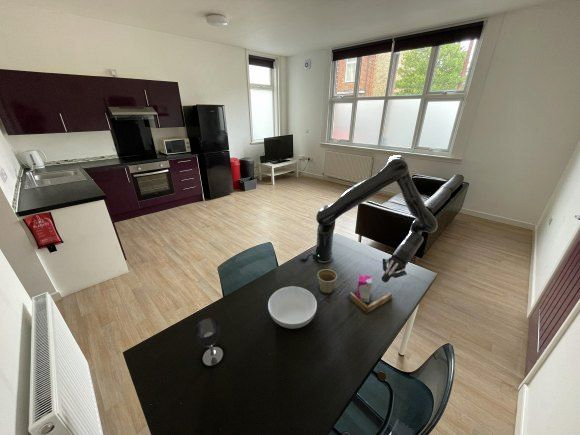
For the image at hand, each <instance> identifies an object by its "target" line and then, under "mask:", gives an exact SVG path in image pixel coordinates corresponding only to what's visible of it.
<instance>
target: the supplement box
mask: <svg viewBox="0 0 580 435" xmlns="http://www.w3.org/2000/svg"><path fill="white" fill-rule="evenodd" d="M372 286H373V277H372V275H366V274H361V273H359V275H358V281H357V289H356V294H355V296H357V297H358V298H359V299H360V300H361V301H363V302H364V303H365V304H370V303H369V302H370V298H371V292H372Z"/></svg>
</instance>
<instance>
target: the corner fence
mask: <svg viewBox="0 0 580 435" xmlns="http://www.w3.org/2000/svg"><path fill="white" fill-rule="evenodd" d="M392 297H393V293H392V292H389V293H386V294H384V295H383V296H381V297H380V298H378V299H376V300H375V301H373V302H371V303H368V304H367V303H365V302H363V301H361V300H360V299H359V298H358V297H357V296H356V294H354V293H353V292H350V293H349V298H348V299H350V300H351V301H352V302H353V303H354V304H355V305H357V307H359V309H361V310H362V311H363V312H364V313H366V314H368V313H370V312H371V311H374V310H375V309H377V308H378V307H380V306H382V305H383V304H385V303H387V302H388V301H390V300H391V299H392Z"/></svg>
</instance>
